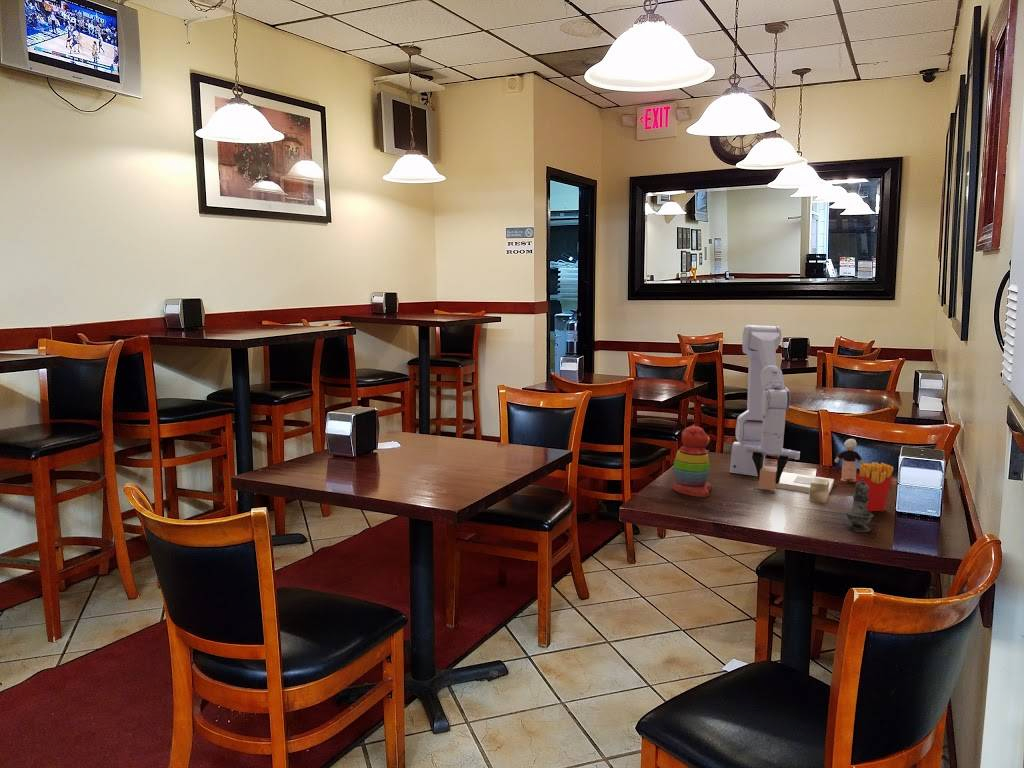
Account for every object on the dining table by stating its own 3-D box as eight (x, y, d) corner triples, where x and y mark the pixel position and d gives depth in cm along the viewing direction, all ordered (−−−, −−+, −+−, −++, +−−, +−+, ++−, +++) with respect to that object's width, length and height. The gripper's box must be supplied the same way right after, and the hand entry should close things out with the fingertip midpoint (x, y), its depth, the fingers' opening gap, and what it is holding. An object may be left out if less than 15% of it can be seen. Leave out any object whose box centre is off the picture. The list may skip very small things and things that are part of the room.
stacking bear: (708, 498, 202) (713, 431, 199) (669, 493, 205) (673, 427, 203) (712, 488, 212) (717, 424, 209) (675, 483, 215) (679, 421, 213)
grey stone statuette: (839, 524, 184) (844, 475, 182) (863, 524, 185) (868, 475, 183) (852, 532, 178) (857, 481, 177) (876, 532, 179) (881, 482, 177)
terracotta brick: (758, 487, 209) (760, 470, 208) (762, 482, 214) (764, 465, 214) (774, 490, 207) (775, 472, 206) (777, 485, 212) (779, 467, 212)
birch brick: (809, 500, 203) (810, 482, 202) (811, 495, 208) (813, 477, 208) (825, 503, 201) (827, 484, 201) (827, 497, 207) (829, 479, 206)
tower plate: (774, 487, 215) (775, 482, 215) (782, 476, 227) (783, 471, 227) (828, 495, 208) (829, 490, 208) (833, 484, 221) (834, 478, 220)
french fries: (859, 511, 195) (864, 465, 193) (851, 506, 199) (856, 461, 197) (891, 511, 196) (896, 465, 194) (883, 507, 199) (888, 462, 198)
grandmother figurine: (858, 480, 226) (862, 438, 224) (862, 483, 222) (867, 440, 220) (831, 478, 227) (835, 436, 225) (835, 482, 223) (839, 439, 221)
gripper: (742, 431, 208) (738, 480, 210) (799, 438, 202) (794, 489, 204) (747, 427, 215) (743, 474, 217) (802, 434, 208) (798, 483, 210)
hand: (768, 481), depth 211 cm, fingers closed on terracotta brick, 4 cm apart
